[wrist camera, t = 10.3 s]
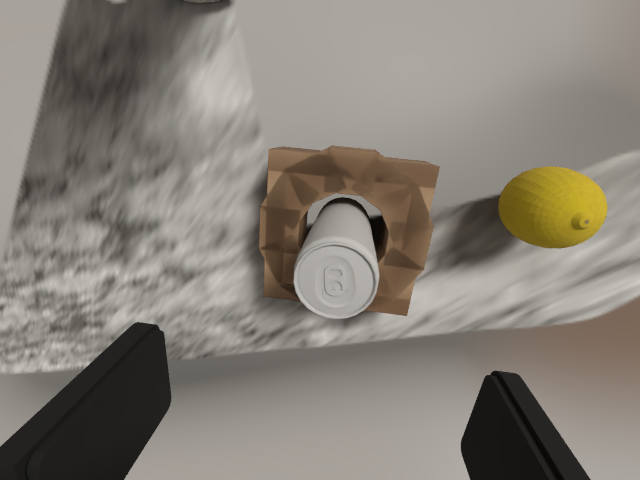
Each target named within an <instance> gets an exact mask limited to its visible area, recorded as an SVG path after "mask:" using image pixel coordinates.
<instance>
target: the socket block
mask: <svg viewBox="0 0 640 480" xmlns="http://www.w3.org/2000/svg"><path fill="white" fill-rule="evenodd" d="M438 172H439V166H436V165H433V164H431V163H428V162H425V161H417V160H407V159H397V158H387V157H383V156H382V155H381V154H379V152H377V151H376V150H370V149H360V148H351V147H342V146H341V147H340V146H330V147H328V148H327V149H325V150H322V151H320V150H309V149H301V148H291V147H277V148H272V149H269V157H268V185H267V197H266V198H265V200H264V201H263V203H262V205H260V234H259V250H260V251H261V253H262V255H263V257H264V259H265V269H264V296H265V297H272V298H279V299H287V300H294V301H300V299H299V297H298V295H297V293H296V291H295V287H294V266H295V263H296V260H297V257H298V255H299V253H300V251H301V249H302V246H303V244H304V242H305V240H306V238H307V236H308V234H309V232H308V230H307V228H306V225H307V212H308V209H309V208H310V207H311V205H312V204H313V203H314V202H316V201H318V200H321V199H323V198H325V197H328V196H330V195H332V194H335V193H340V194H349V195H358V196H362V197H363V198H364V199H366V200H367V201H368V202H370V203H371V204H372V205H374V206H375V207H376V208H378V209H379V210H380V211H381V213H382V216H383V223H382V229H381V235H380V237H379V239H378V240H377V241H376V242H375V243H374V247H375V251H376V257H377V262H378V269H379V282H378V287H377V292H376V295H375V297H374V299H373V301H372V302H371V303H370V304H369V306H368V307H367V308H366V309H365V310H367V311H374V312H382V313H389V314H396V315H403V316H407V313H408V308H409V304H410V299H411V295H412V290H413V286H414V281H415V278H416V277H417V276H418V275H419V274H420V273H421V272H422V271H423V270H424V267H425V262H426V258H427V253H428V249H429V245H430V240H431V236H432V232H433V228H434V226H433V224H432V221H431V218H430V215H429V213H430V209H431V204H432V200H433V195H434V190H435V186H436V181H437V177H438ZM365 310H363V311H365Z"/></svg>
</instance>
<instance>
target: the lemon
mask: <svg viewBox="0 0 640 480" xmlns="http://www.w3.org/2000/svg"><path fill="white" fill-rule="evenodd" d="M498 210H499V216H500V218H501V220H502V222H503V224H504V226H505V227H506V228H507V229H508V230H509V231H510V232H511V233H512V234H513V235H514V236H515V237H517V238H519V239H521V240H522V241H524V242H526V243H529V244H532V245H536V246H540V247H544V248H566V247H571V246H575V245H577V244H580V243H582V242H584V241H586V240H587V239H589V238H590V237H592V236H593V235H594V234H595V233H596V232H597V231H598V230H599V229H600V227H601V226H602V224H603V223H604V220H605V218H606V215H607V202H606V198H605V195H604V193H603V192H602V190H601V188H600V187H599V186H598V185H597V184H596V183H594V182H593V181H592V180H591V179H590V178H588V177H587V176H585V175H583V174H581V173H578V172H576V171H573V170H571V169H567V168H560V167H542V168H534V169H531V170H529V171H526V172H523V173H521V174H520V175H518V176H517V177H515V178H513V179H512V180H511V181H510V182H509V183H508V184H507V185H506V187H505V188H504V190H503V191H502V193H501V196H500V198H499V204H498Z"/></svg>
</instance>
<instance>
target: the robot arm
mask: <svg viewBox="0 0 640 480" xmlns="http://www.w3.org/2000/svg"><path fill="white" fill-rule="evenodd" d="M184 1H188V2H195V3H207V2H216V1H219V0H184ZM170 403H171V391H170V382H169V373H168V364H167V355H166V346H165V338H164V332H163V331H161V330H160V329H159V327H158V325H155V324H147V323H140V322H137V323H134V324H133V325H132V326H131V327H129V328H128V329H127V330H126V331H125V332H124V333H123V334H122V335H121V336H120V337H119V338H118V339H116V340H115V341H114V342H113V343H112V344H111V345H110V346H109V347H108V348H107V349H106V350H105V351H103V352H102V353H101V354H100V355H99V356H98V357H97V358H96V359H95V360H94V361H93V362H92V363H90V364H89V365H88V366H87V367H86V368H85V369H84V370H83V371H82V372H81V373H80V374H79V375H77V377H75V378H74V379H73V380H72V381H71V382H70V383H69V384H68V385H67V386H66V387H64V388H63V389H62V390H61V391H60V392H59V393H58V394H57V395H56V396H55V397H54V398H53V399H51V400H50V401H49V402H48V403H47V404H46V405H45V406H44V407H43V408H42V409H41V410H40V411H38V412H37V413H36V414H35V415H34V416H33V417H32V418H31V419H30V420H29V421H28V422H27V423H26V424H24V425H23V426H22V427H21V428H20V429H19V430H18V431H17V432H16V433H15V434H14V435H12V436H11V437H10V438H9V439H8V440H7V441H6V442H5V443H4V444H3V445H2V446H1V447H0V480H124V478H125V477H126V475H127V474H128V472H129V470H130V469H131V467H132V466H133V464H134V463H135V461H136V460H137V458H138V456H139V455H140V453H141V452H142V450H143V449H144V447H145V445H146V444H147V442H148V441H149V439H150V438H151V436H152V434H153V433H154V431H155V430H156V428H157V427H158V425H159V423H160V422H161V420H162V418H163V417H164V415H165V414H166V412H167V410H168V409H169V406H170ZM461 452H462V456H463V459H464V462H465V465H466V468H467V471H468V474H469V476H470V480H590V478H589V477H588V475H587V474H586V472H585V471H584V469H583V468H582V466H581V465H580V463H579V462H578V461H577V459H576V458H575V456H574V455H573V453H572V452H571V450H570V449H569V447H568V446H567V444H566V443H565V441H564V440H563V438H562V437H561V435H560V434H559V432H558V431H557V430H556V428H555V427H554V425H553V424H552V422H551V421H550V419H549V418H548V416H547V415H546V413H545V412H544V410H543V409H542V408H541V406H540V405H539V403H538V402H537V400H536V399H535V397H534V396H533V394H532V393H531V391H530V390H529V388H528V387H527V385H526V384H525V383H524V381H523V380H522V378H521V377H520V376H519V375H518V374H516V373H509V372H502V371H493V372H492V373H491V375H487V376H485V378H484V381H483V384H482V386H481V389H480V391H479V394H478V397H477V400H476V402H475V405H474V408H473V410H472V413H471V416H470V418H469V421H468V424H467V427H466V429H465V432H464V435H463V437H462V441H461Z"/></svg>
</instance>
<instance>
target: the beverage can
mask: <svg viewBox="0 0 640 480" xmlns="http://www.w3.org/2000/svg"><path fill="white" fill-rule="evenodd" d="M378 282H379V269H378V262H377V257H376V251H375V247H374V242H373V237H372V231H371V225H370V220H369V216H368V214H367V212H366V210H365V209H364V208H363V206H362V205H361V204H360V203H358V202H357V201H356V200H353V199H350V198H343V197H342V198H336V199H333V200H331V201H329V202H328V203H327V204H326V205H324V207H323V208H322V209H321V211H320V213H319V215H318V217H317V219H316V221H315V222H314V224H313V226H312V228H311V230H310V232H309V234H308V236H307V238H306V240H305V242H304V244H303V246H302V249H301V251H300V253H299V255H298V257H297V260H296V263H295V266H294V287H295V291H296V293H297V295H298V297H299V299H300V301H301V302H302V303H303V304H304V305H305V306H306V307H307V308H308V309H309V310H311V311H312V312H314V313H315V314H317V315H320V316H323V317H325V318H332V319H343V318H349V317H352V316H355V315H357V314H359V313H360V312H362V311H363V310H365V309H366V308H367V307H368V306H369V304H370V303H371V302H372V301H373V299H374V297H375V295H376V292H377V287H378Z"/></svg>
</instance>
